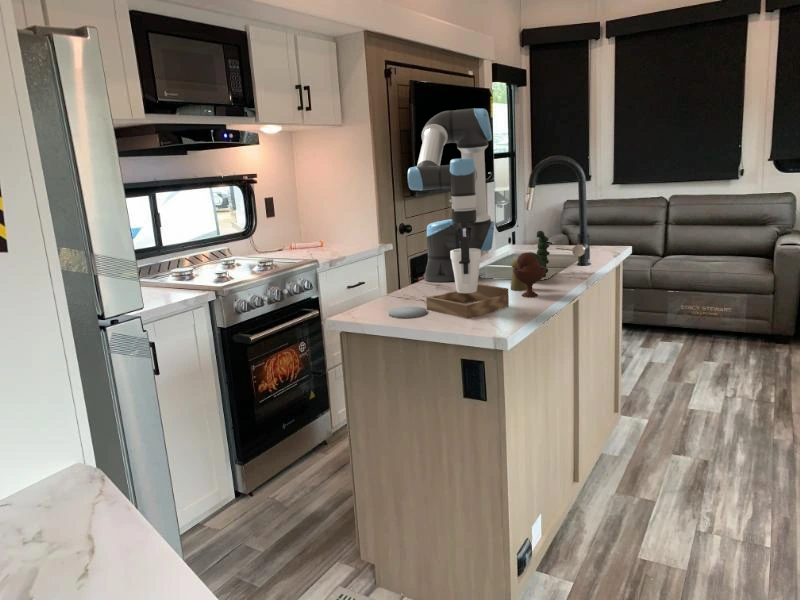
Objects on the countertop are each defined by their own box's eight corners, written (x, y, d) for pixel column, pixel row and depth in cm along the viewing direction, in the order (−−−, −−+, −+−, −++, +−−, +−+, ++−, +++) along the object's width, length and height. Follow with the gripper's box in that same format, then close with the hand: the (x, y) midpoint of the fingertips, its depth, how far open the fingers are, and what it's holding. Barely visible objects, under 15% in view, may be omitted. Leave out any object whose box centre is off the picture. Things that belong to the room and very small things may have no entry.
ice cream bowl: (547, 299, 204) (546, 253, 201) (512, 299, 206) (511, 254, 203) (546, 292, 214) (545, 249, 211) (513, 292, 216) (512, 250, 213)
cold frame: (467, 299, 211) (467, 281, 209) (508, 306, 196) (508, 288, 195) (426, 309, 200) (426, 291, 198) (467, 318, 185) (466, 298, 184)
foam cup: (487, 290, 196) (486, 249, 193) (465, 295, 191) (463, 254, 188) (468, 286, 204) (466, 247, 201) (446, 291, 199) (444, 251, 196)
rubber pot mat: (410, 307, 204) (410, 304, 204) (434, 312, 195) (434, 310, 195) (381, 314, 197) (381, 311, 197) (404, 320, 188) (404, 317, 188)
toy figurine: (532, 277, 251) (510, 283, 229) (533, 230, 248) (510, 232, 227) (555, 278, 246) (534, 284, 225) (556, 230, 243) (535, 232, 222)
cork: (507, 289, 223) (506, 258, 221) (521, 286, 225) (520, 257, 223) (516, 291, 218) (516, 260, 215) (531, 289, 220) (530, 258, 217)
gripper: (452, 206, 202) (455, 274, 208) (450, 213, 181) (453, 288, 186) (476, 205, 201) (478, 273, 207) (476, 212, 180) (478, 287, 185)
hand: (466, 280), depth 196 cm, fingers closed on foam cup, 9 cm apart
